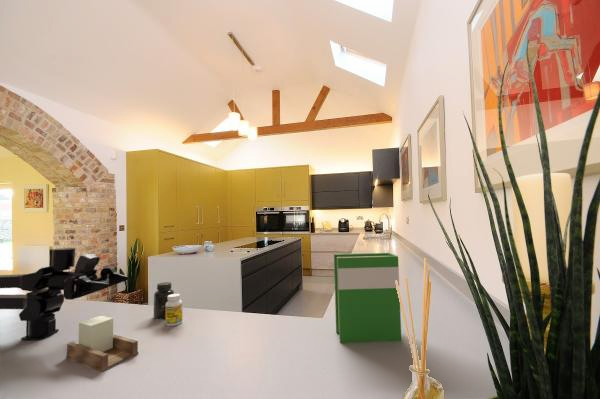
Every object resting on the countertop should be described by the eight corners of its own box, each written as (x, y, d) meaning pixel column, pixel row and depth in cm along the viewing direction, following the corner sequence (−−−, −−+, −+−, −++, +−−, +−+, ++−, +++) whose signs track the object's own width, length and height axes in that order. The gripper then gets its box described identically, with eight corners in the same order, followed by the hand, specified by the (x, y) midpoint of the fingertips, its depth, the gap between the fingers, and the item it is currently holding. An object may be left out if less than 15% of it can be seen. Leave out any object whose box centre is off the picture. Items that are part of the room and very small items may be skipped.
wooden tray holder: (65, 358, 73) (66, 344, 74) (102, 343, 82) (103, 331, 82) (101, 372, 67) (102, 356, 67) (138, 354, 75) (138, 340, 75)
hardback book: (340, 343, 79) (337, 258, 80) (336, 332, 86) (333, 254, 87) (401, 340, 79) (398, 256, 80) (392, 330, 87) (389, 252, 88)
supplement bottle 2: (183, 319, 99) (183, 292, 100) (180, 325, 94) (180, 296, 94) (167, 321, 98) (167, 293, 99) (163, 327, 93) (163, 298, 93)
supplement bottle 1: (165, 320, 99) (165, 286, 100) (149, 319, 100) (149, 285, 101) (177, 313, 106) (177, 281, 106) (162, 312, 107) (162, 281, 108)
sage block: (78, 353, 74) (78, 322, 75) (100, 344, 79) (101, 315, 80) (90, 357, 72) (90, 325, 72) (112, 347, 77) (113, 318, 77)
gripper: (45, 260, 80) (97, 261, 79) (94, 251, 99) (137, 252, 98) (42, 299, 79) (95, 300, 79) (93, 283, 98) (136, 284, 98)
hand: (118, 281), depth 88 cm, fingers open, 9 cm apart
